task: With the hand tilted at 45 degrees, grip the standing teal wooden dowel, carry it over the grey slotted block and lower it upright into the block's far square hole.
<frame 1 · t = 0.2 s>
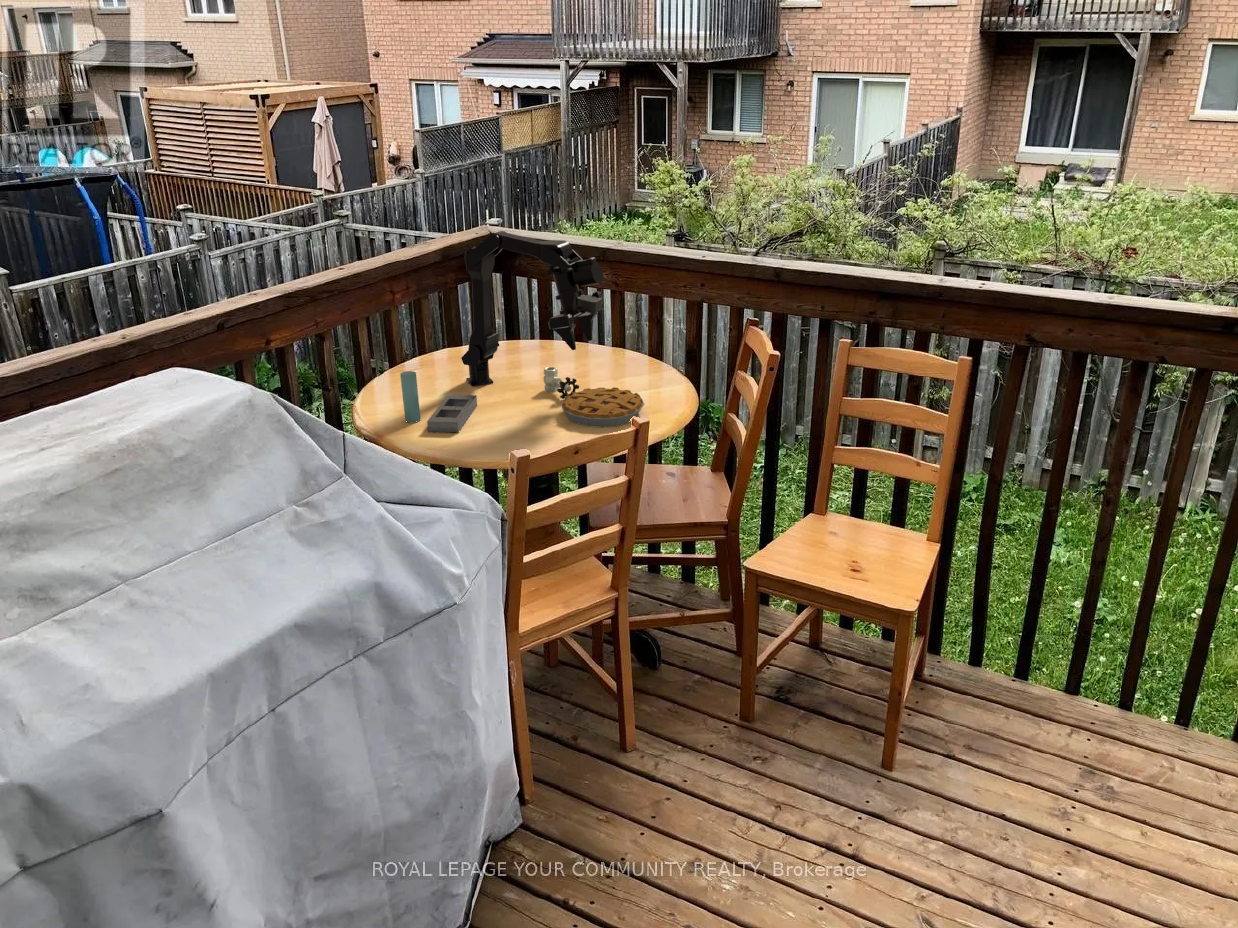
hand: (582, 345, 271), 15 cm above the table, tool pointing down, fingers open, 9 cm apart
dowel: (413, 420, 264), on the table
valve: (558, 395, 281), on the table
pie: (603, 415, 266), on the table
grey slotted block: (449, 424, 261), on the table
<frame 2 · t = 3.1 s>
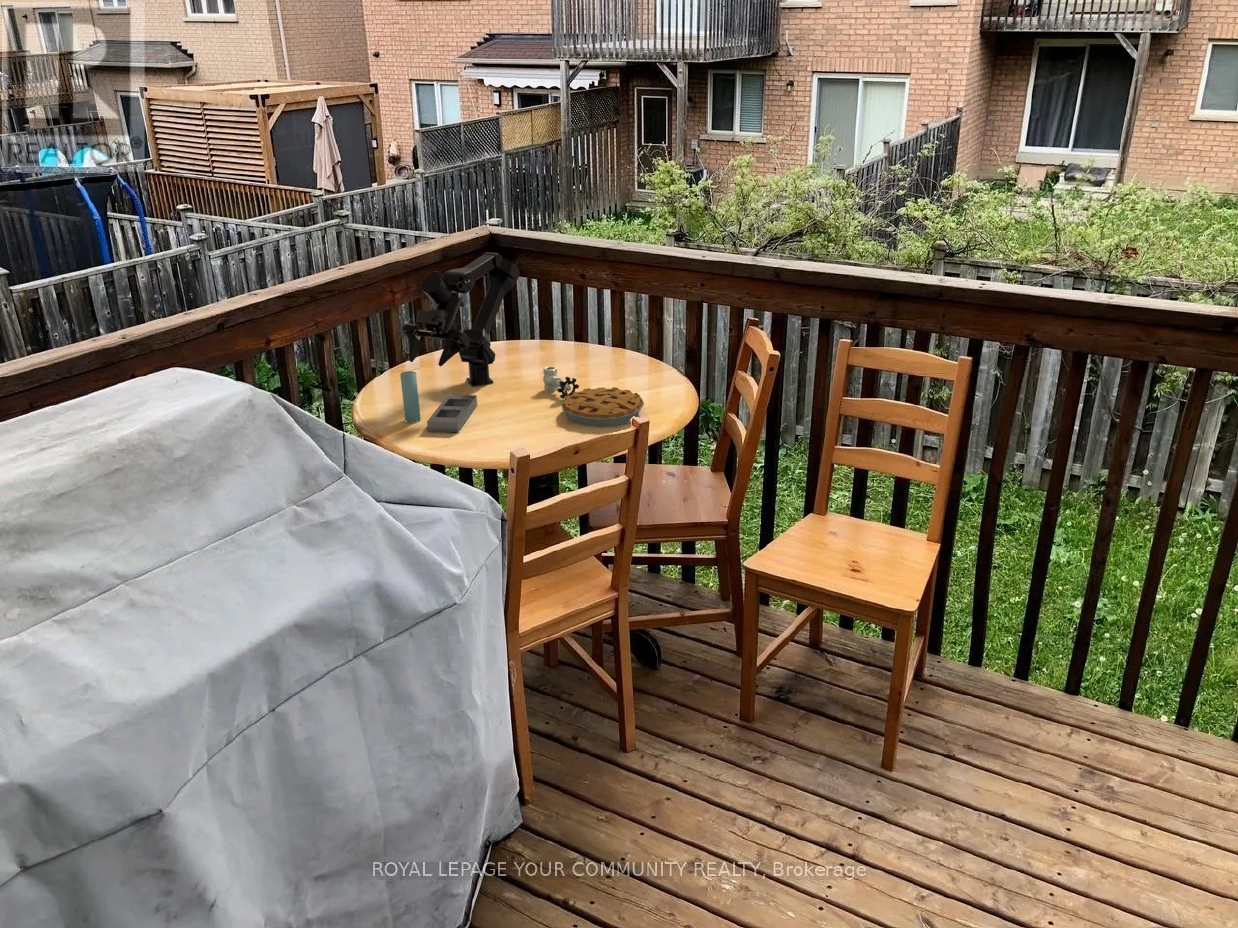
hand: (425, 363, 265), 13 cm above the table, tool tilted 45°, fingers open, 9 cm apart
nothing on the table moved.
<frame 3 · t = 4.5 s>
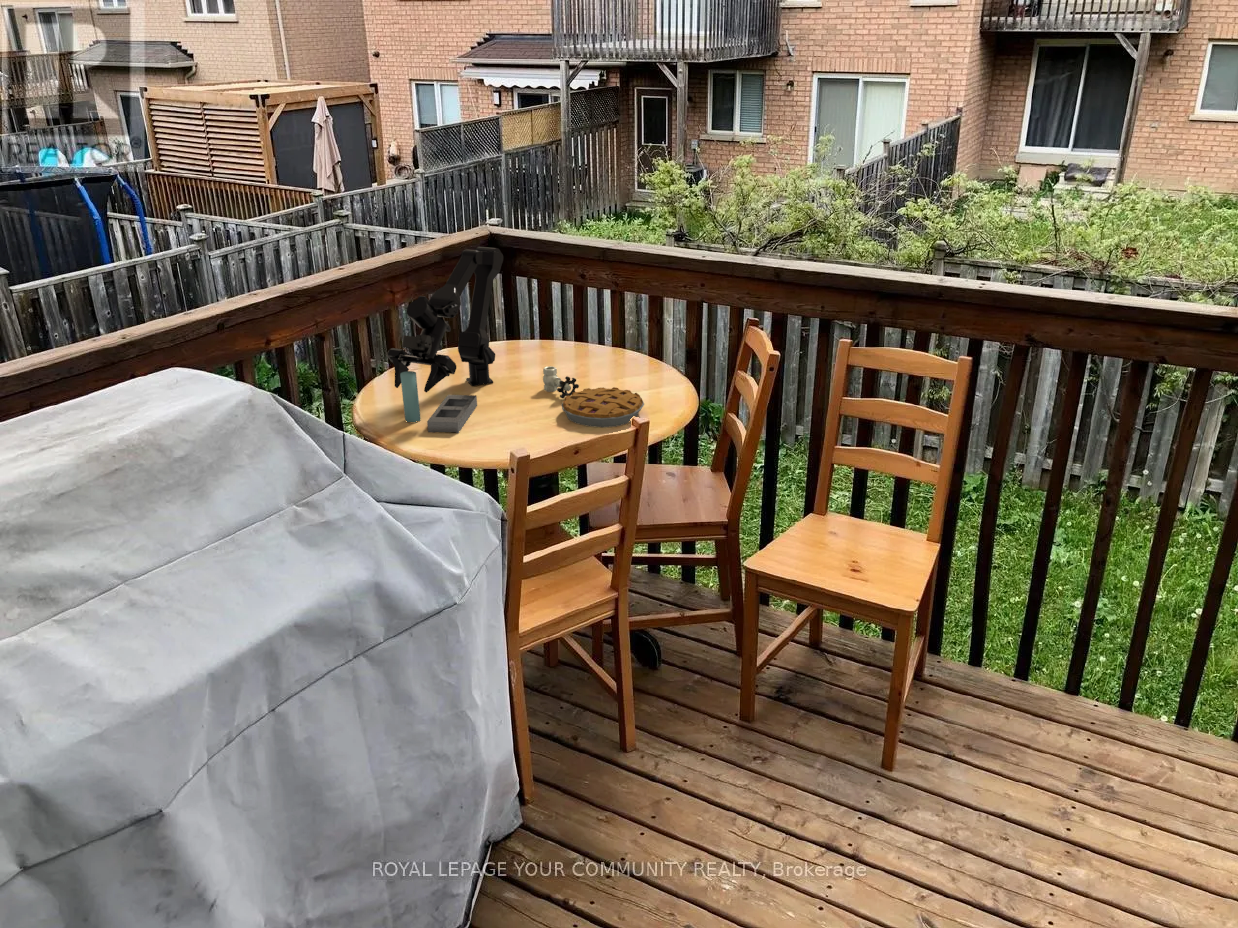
hand: (410, 389, 261), 9 cm above the table, tool tilted 45°, fingers open, 9 cm apart
nothing on the table moved.
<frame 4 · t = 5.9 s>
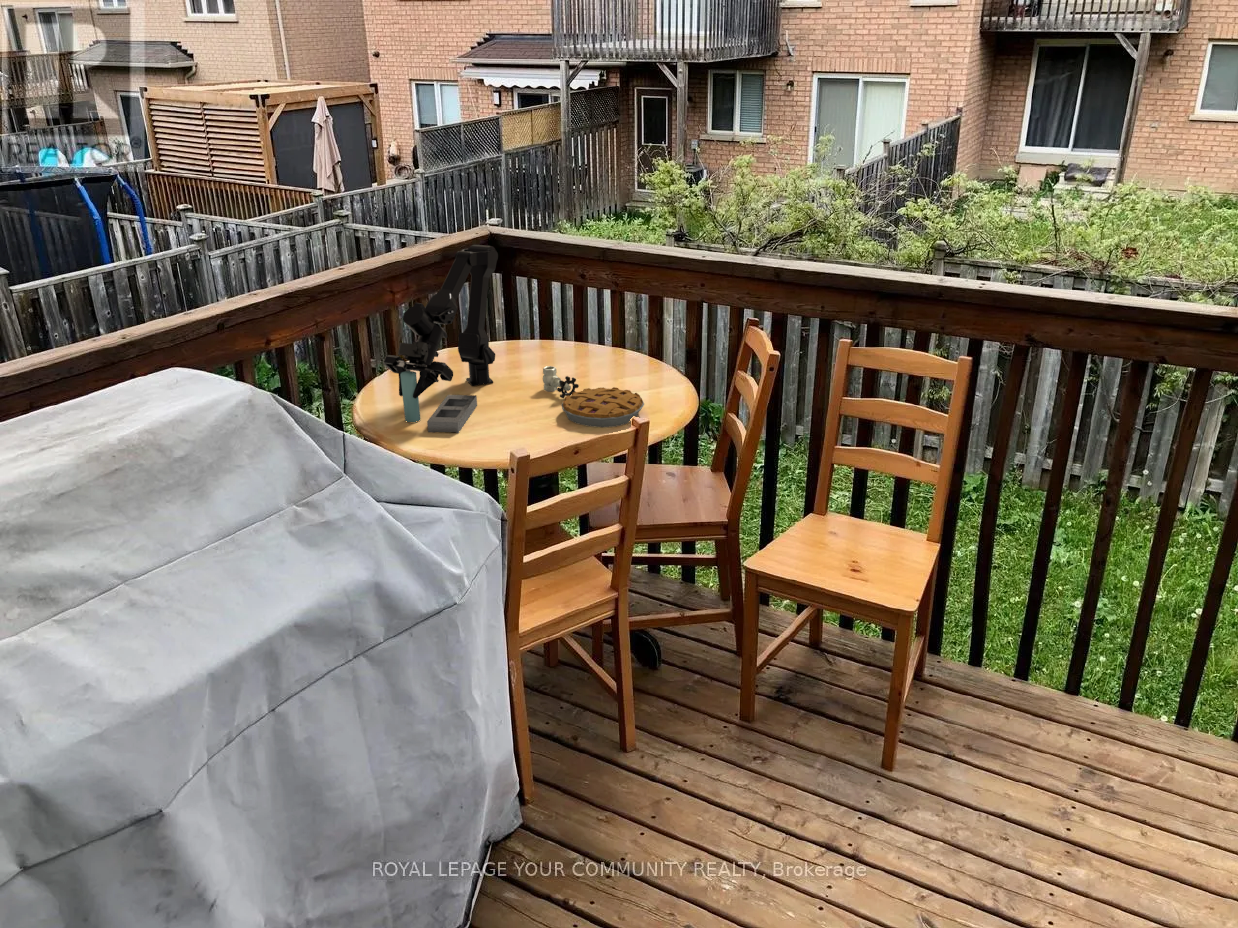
hand: (407, 396, 260), 7 cm above the table, tool tilted 45°, fingers closed on dowel, 4 cm apart
dowel: (412, 420, 264), on the table, touching gripper
everything else where it was.
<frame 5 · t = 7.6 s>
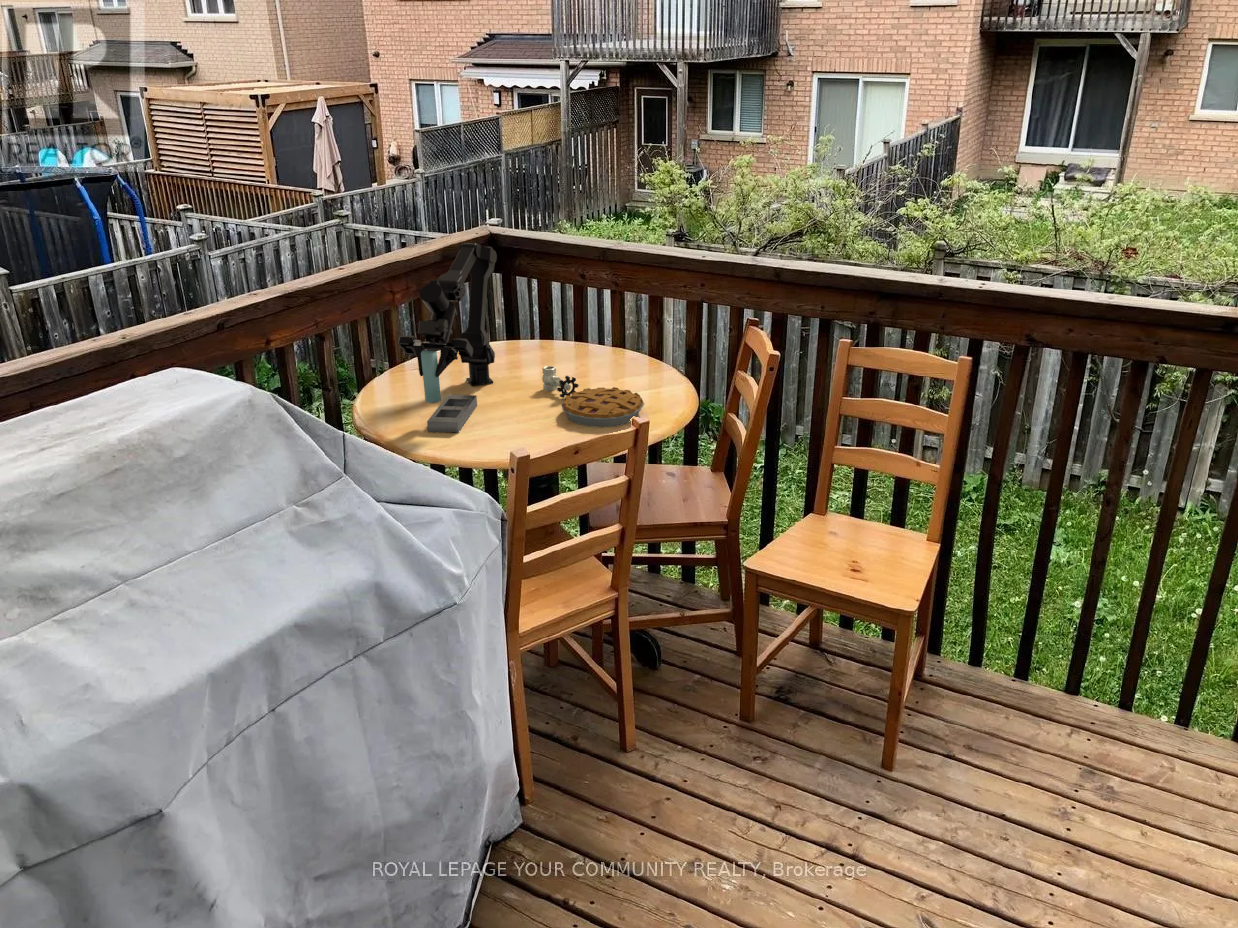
hand: (428, 376, 255), 14 cm above the table, tool tilted 45°, fingers closed on dowel, 4 cm apart
dowel: (433, 400, 259), point 6 cm above the table, touching gripper
everything else where it was.
when the fingers open (8 cm above the table, at t = 9.6 s): dowel stays where it is, resting in grey slotted block.
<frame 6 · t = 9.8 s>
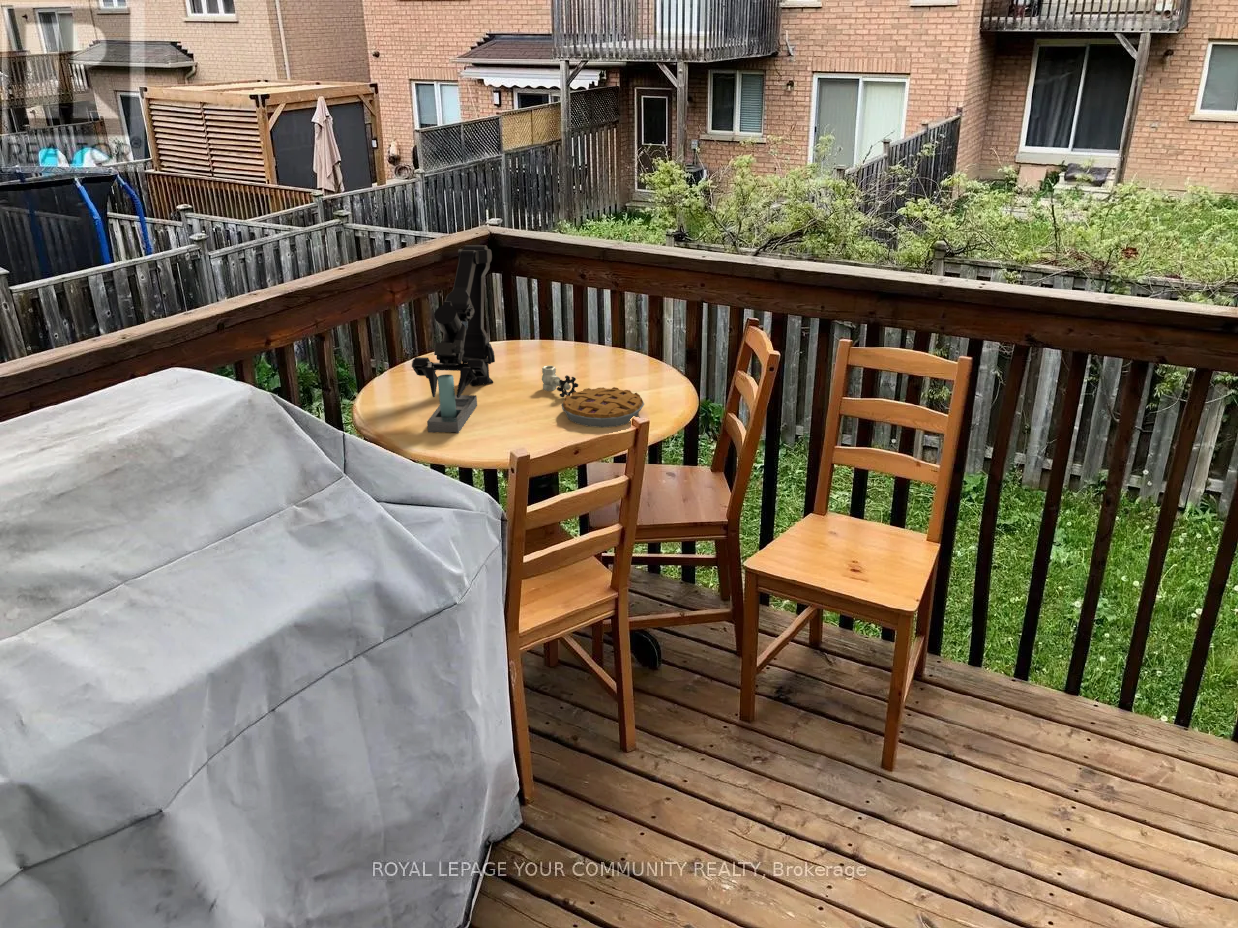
hand: (445, 397, 256), 8 cm above the table, tool tilted 45°, fingers open, 6 cm apart
dowel: (449, 424, 261), resting in grey slotted block
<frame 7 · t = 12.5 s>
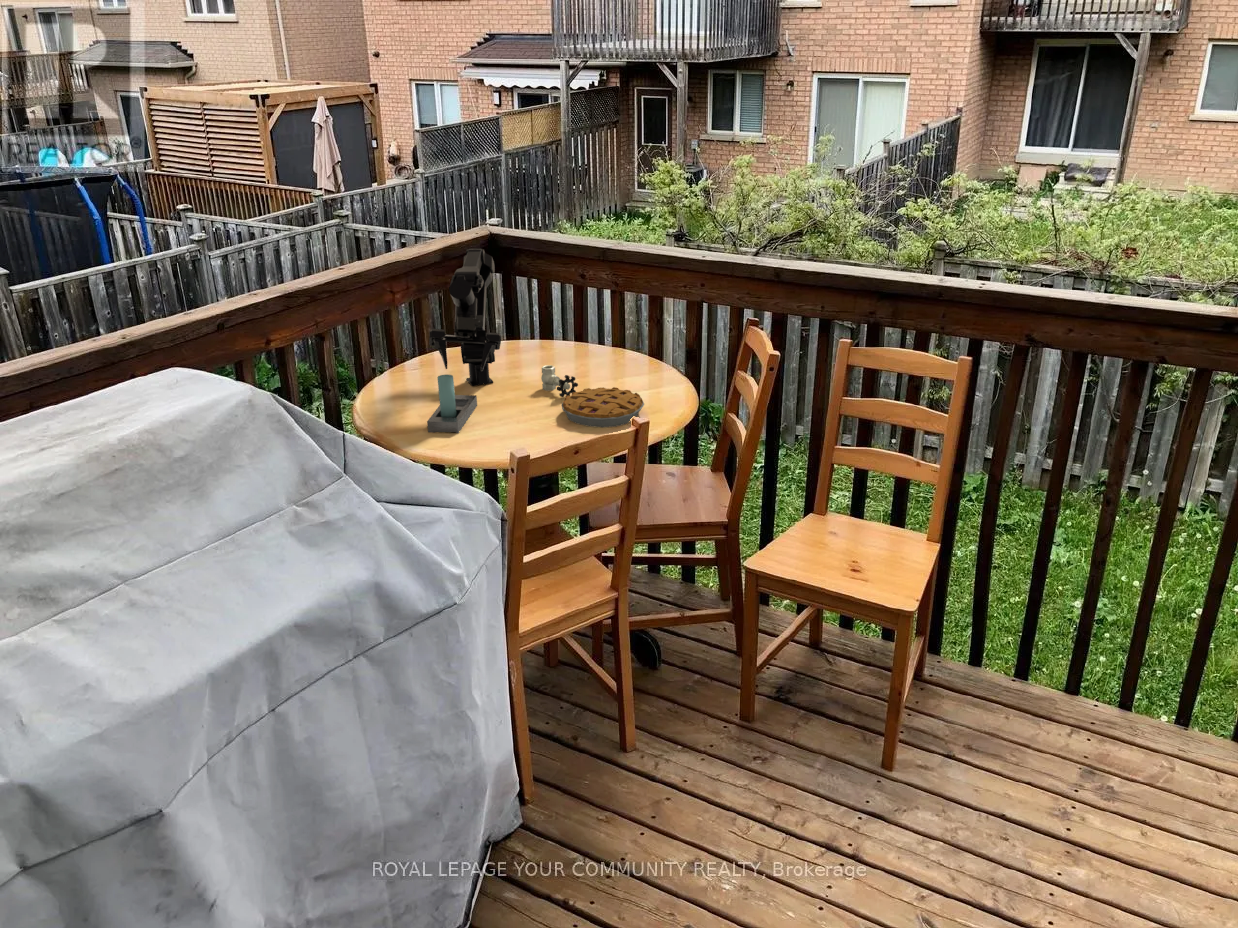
hand: (464, 369, 263), 12 cm above the table, tool tilted 40°, fingers open, 9 cm apart
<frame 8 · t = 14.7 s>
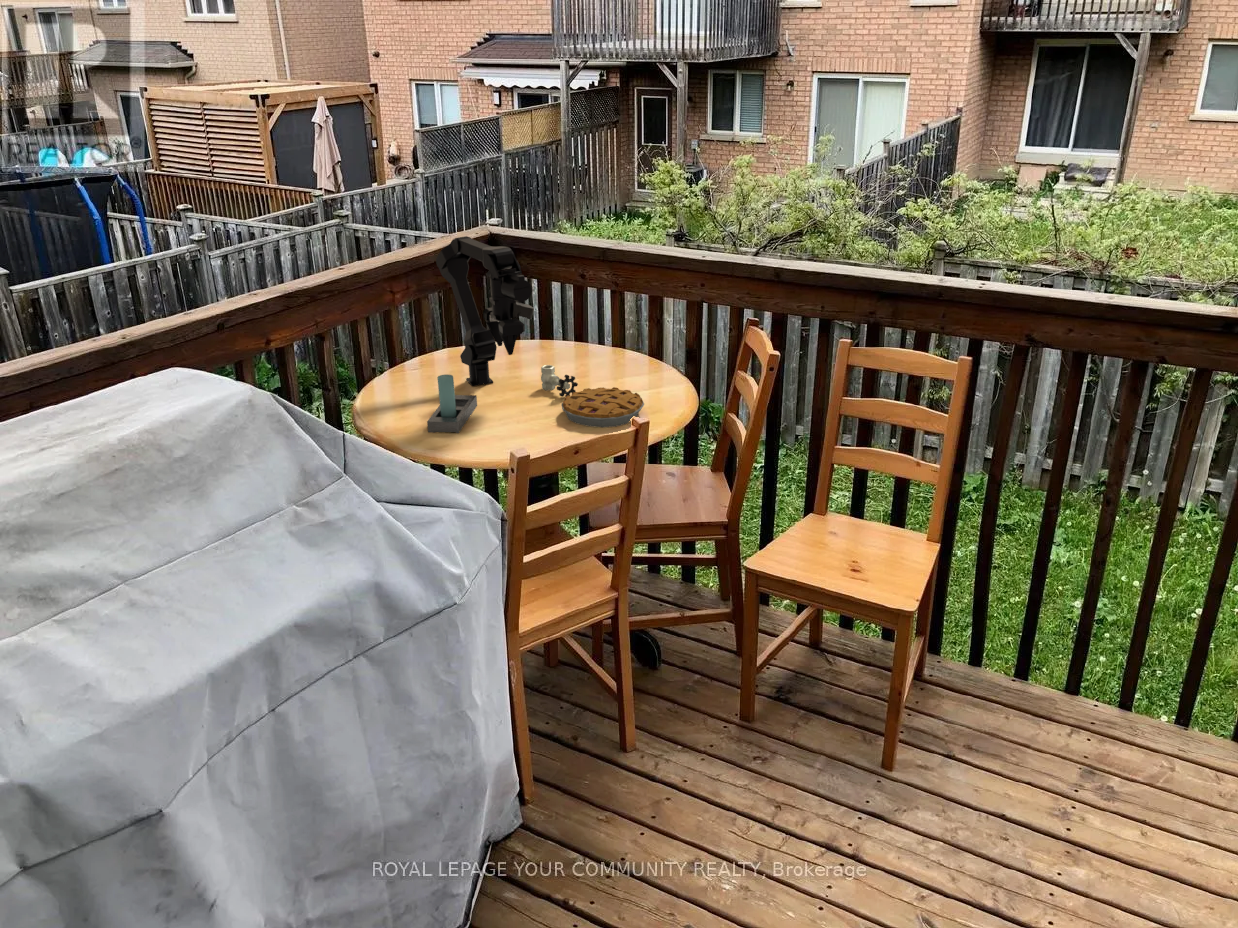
hand: (505, 350, 276), 13 cm above the table, tool pointing down, fingers open, 9 cm apart
at the end: dowel 0.0 cm off-centre on the grey slotted block, point 0.0 cm above the grey slotted block's base; dowel tilted 0°; the gripper is holding nothing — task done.
